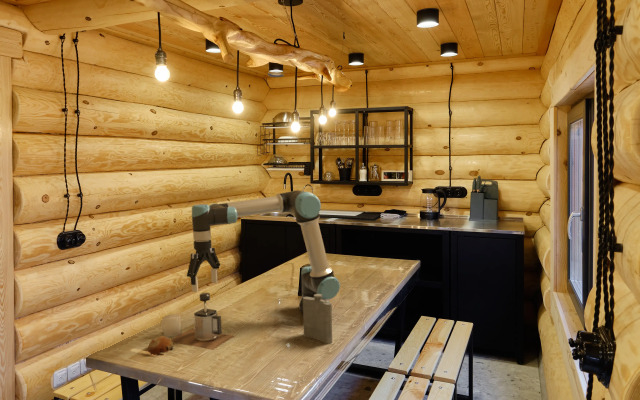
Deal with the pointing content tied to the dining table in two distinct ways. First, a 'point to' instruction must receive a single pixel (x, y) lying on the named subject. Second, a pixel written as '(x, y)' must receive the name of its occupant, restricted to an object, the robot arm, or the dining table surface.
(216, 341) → the board
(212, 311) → the grey faceted handled container
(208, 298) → the plunger
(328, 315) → the grey upright slab
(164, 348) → the bread roll
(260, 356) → the dining table surface
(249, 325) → the dining table surface
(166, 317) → the cream egg shape
